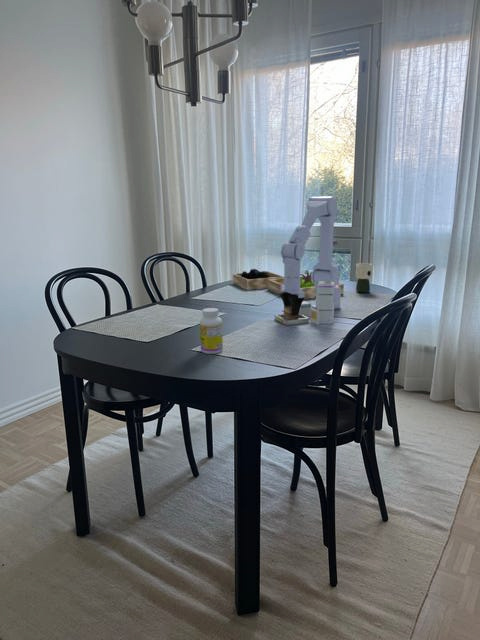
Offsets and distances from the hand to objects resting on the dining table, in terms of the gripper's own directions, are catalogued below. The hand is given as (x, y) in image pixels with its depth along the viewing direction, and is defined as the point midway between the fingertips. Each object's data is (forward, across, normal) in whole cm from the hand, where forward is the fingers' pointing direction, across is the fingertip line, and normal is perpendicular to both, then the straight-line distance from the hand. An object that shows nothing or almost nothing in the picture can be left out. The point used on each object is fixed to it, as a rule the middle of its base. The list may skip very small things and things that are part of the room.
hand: (291, 313), depth 173 cm
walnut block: (+3, 0, 0) cm, 3 cm away
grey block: (+3, -6, +8) cm, 10 cm away
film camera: (+3, -66, +16) cm, 68 cm away
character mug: (+3, -30, +54) cm, 61 cm away
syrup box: (+3, +6, +10) cm, 12 cm away
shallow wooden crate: (+3, -68, +18) cm, 70 cm away
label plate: (+3, +6, +6) cm, 9 cm away
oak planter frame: (+3, -42, +30) cm, 51 cm away
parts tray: (+3, 0, 0) cm, 3 cm away
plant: (+3, -41, +30) cm, 51 cm away
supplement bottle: (+3, +19, -38) cm, 42 cm away
